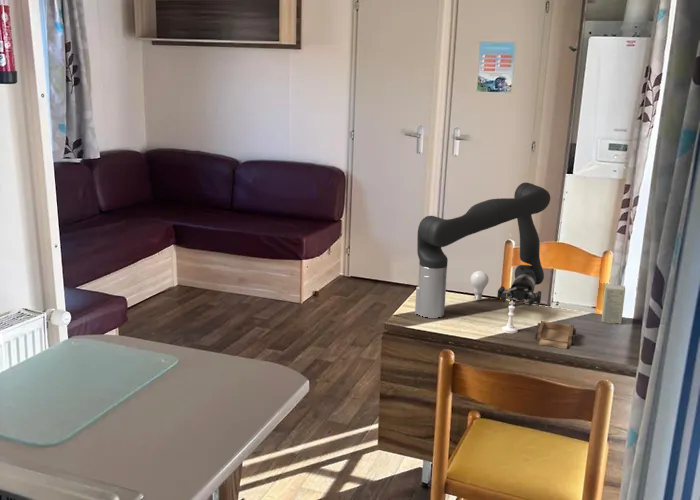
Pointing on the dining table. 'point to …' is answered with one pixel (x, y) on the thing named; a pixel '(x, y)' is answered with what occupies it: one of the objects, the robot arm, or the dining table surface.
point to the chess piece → (510, 321)
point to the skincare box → (613, 303)
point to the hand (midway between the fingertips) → (516, 301)
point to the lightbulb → (479, 283)
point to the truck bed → (555, 334)
